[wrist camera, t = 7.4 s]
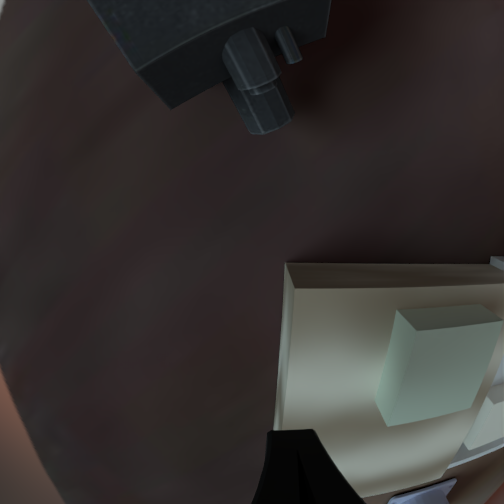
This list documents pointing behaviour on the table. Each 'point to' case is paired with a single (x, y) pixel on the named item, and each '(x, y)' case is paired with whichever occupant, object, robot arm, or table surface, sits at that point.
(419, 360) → the tile sage
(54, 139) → the table surface
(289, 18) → the tool
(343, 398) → the bench board
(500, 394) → the tile cream
